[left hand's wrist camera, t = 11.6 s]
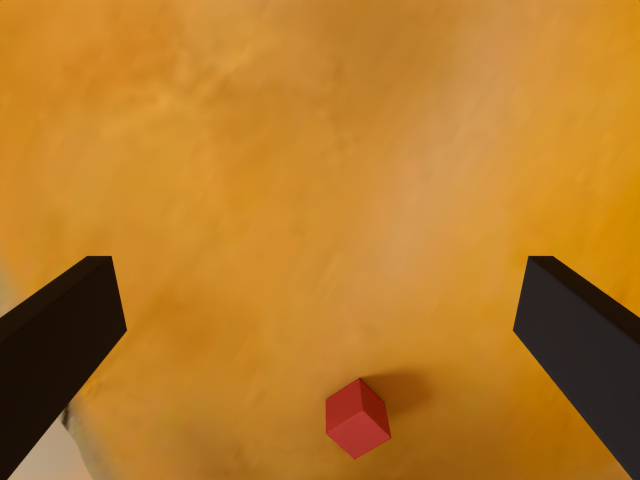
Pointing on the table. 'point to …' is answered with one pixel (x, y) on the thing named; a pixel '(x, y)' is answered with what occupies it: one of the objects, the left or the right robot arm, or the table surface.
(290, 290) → the table surface
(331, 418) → the block
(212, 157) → the table surface
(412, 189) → the table surface
